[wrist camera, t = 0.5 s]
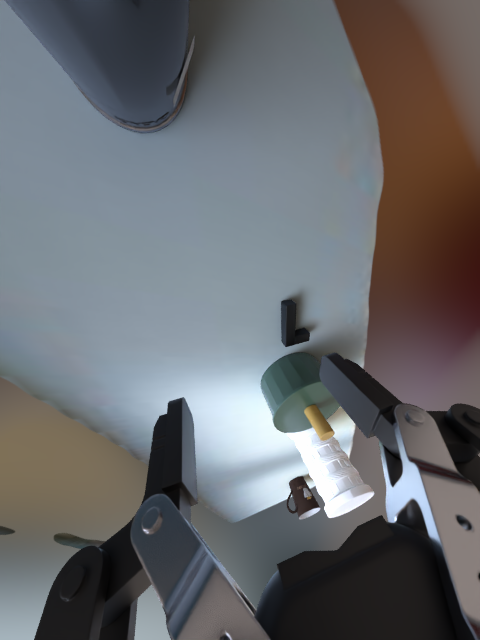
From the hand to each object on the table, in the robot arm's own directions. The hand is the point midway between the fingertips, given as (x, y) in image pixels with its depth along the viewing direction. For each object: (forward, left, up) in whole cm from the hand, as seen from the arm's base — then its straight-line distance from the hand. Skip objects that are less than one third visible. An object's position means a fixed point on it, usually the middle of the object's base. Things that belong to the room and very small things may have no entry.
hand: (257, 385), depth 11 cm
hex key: (+10, +13, -19) cm, 25 cm away
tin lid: (+25, +12, -11) cm, 30 cm away
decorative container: (+47, +17, -19) cm, 54 cm away
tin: (+25, +12, -19) cm, 34 cm away
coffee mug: (+89, +15, -19) cm, 93 cm away
